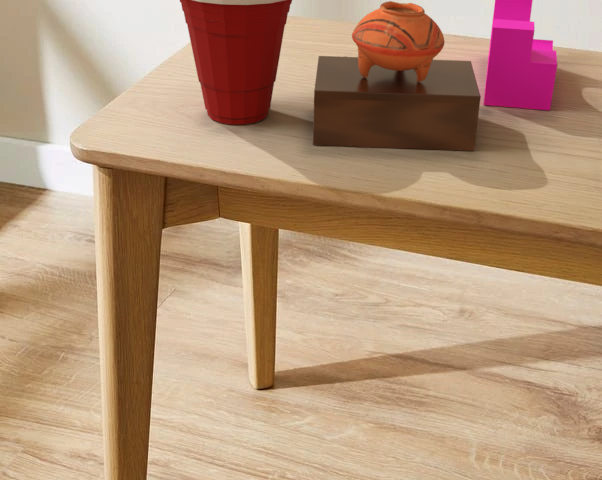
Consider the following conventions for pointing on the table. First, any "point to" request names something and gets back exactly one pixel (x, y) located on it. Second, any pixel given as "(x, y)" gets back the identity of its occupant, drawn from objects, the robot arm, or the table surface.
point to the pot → (397, 39)
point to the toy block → (518, 60)
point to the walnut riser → (395, 106)
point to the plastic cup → (236, 54)
